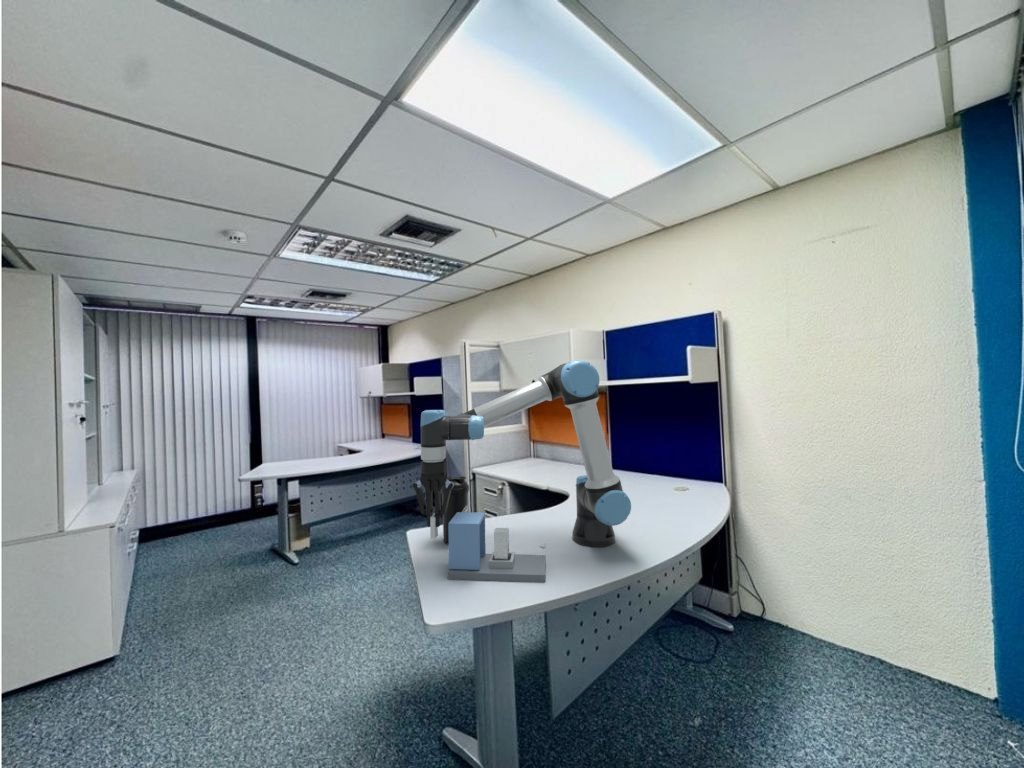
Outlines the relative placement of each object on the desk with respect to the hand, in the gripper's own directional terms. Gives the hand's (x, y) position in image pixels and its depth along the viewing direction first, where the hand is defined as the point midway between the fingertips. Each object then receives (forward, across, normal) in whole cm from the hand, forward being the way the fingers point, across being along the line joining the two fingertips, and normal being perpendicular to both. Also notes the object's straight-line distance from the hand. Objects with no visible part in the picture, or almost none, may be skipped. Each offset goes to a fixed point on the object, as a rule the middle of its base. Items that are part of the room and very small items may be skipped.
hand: (434, 537), depth 122 cm
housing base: (+9, -20, 0) cm, 22 cm away
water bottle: (+10, -1, -23) cm, 25 cm away
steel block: (+7, -21, 0) cm, 22 cm away
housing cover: (+7, -10, 0) cm, 13 cm away
